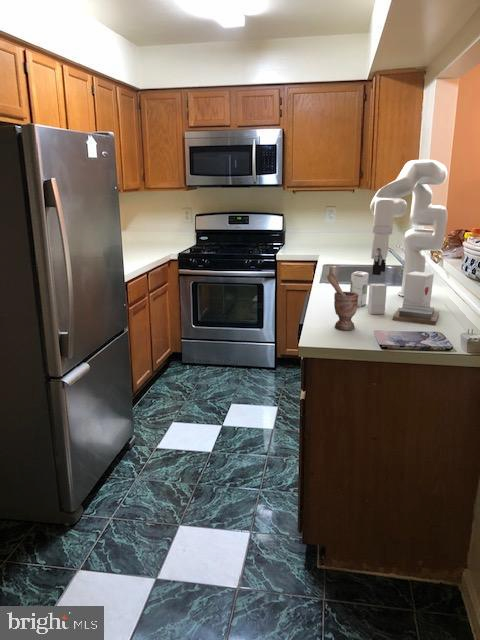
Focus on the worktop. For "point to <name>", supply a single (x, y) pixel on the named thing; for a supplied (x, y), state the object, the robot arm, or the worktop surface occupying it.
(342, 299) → the mortar and pestle
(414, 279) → the supplement box
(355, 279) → the syrup box
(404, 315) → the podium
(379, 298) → the skincare box
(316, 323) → the worktop surface
